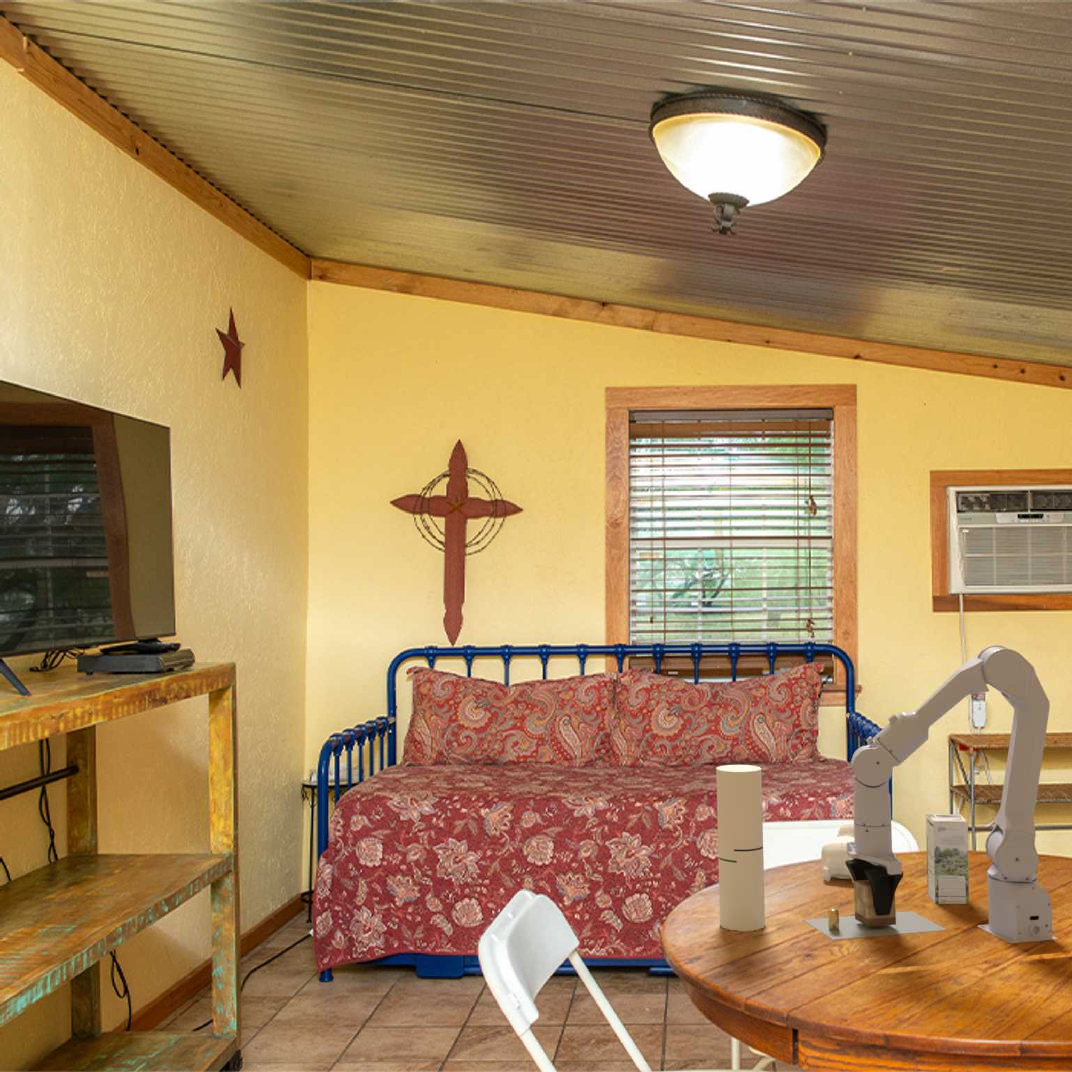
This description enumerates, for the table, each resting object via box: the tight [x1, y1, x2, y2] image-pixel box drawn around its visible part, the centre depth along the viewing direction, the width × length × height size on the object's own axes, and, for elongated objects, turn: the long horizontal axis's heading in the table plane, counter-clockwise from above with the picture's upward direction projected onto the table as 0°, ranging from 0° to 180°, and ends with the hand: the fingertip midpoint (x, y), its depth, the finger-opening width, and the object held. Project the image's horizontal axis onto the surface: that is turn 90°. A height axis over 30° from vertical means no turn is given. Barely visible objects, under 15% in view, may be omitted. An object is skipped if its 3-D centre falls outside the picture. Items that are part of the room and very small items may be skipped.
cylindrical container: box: [715, 764, 766, 932], centre depth 198 cm, size 7×7×25 cm
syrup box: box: [925, 813, 970, 905], centre depth 208 cm, size 6×6×14 cm
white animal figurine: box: [820, 821, 854, 884], centre depth 229 cm, size 9×8×15 cm
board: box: [802, 910, 948, 941], centre depth 194 cm, size 11×19×1 cm, turn 102°
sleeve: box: [853, 880, 897, 927], centre depth 194 cm, size 5×5×6 cm
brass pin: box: [827, 908, 840, 931], centre depth 192 cm, size 2×2×4 cm
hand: (874, 910), depth 194 cm, fingers closed on sleeve, 5 cm apart
